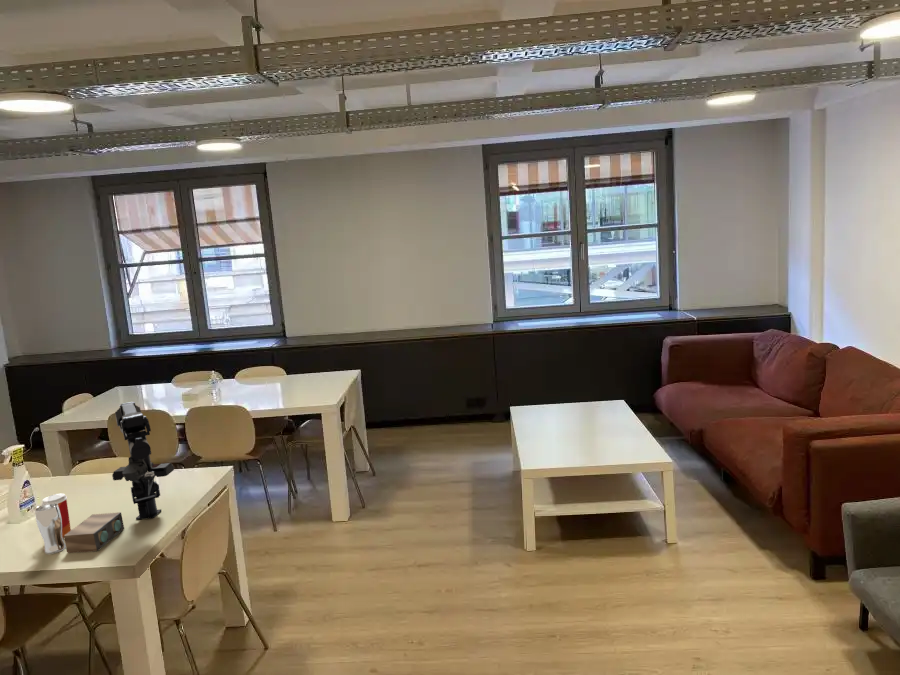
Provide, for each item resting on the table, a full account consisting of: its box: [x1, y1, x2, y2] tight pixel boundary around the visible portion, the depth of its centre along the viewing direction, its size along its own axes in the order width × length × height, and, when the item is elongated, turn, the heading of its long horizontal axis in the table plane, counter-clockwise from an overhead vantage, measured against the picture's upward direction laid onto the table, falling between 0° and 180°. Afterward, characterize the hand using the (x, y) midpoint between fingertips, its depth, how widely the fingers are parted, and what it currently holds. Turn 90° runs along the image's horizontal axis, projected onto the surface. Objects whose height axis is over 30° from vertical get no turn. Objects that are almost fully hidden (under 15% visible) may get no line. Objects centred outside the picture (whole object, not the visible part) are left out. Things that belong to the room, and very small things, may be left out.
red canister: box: [41, 492, 72, 539], centre depth 233 cm, size 8×8×14 cm
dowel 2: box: [112, 520, 121, 531], centre depth 230 cm, size 4×9×4 cm, turn 86°
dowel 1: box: [98, 531, 108, 542], centre depth 222 cm, size 4×9×4 cm, turn 86°
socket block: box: [63, 511, 125, 554], centre depth 226 cm, size 16×10×6 cm, turn 176°
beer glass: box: [34, 503, 66, 555], centre depth 221 cm, size 7×7×15 cm
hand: (147, 495), depth 229 cm, fingers closed
